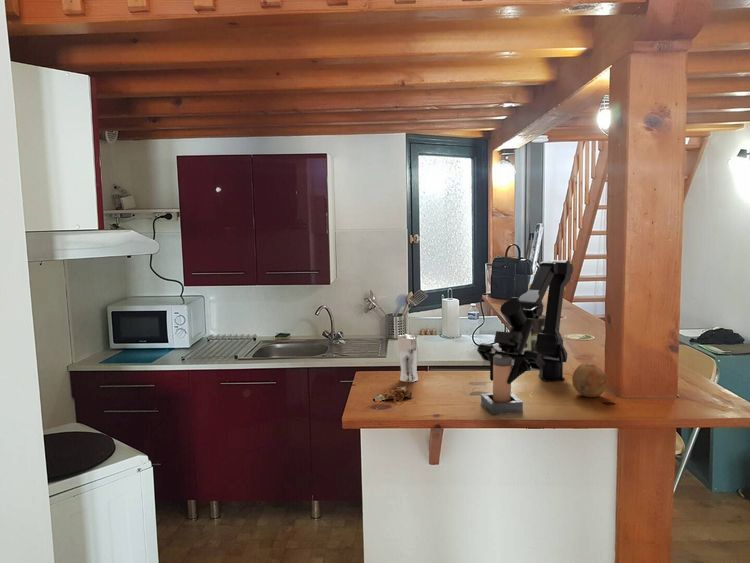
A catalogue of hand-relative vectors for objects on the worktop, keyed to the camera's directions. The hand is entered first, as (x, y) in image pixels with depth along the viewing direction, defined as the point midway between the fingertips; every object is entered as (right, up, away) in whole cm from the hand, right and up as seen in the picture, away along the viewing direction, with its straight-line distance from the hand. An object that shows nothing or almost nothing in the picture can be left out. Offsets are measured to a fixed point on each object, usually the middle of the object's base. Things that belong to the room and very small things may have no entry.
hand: (499, 381), depth 156 cm
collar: (+1, -8, +2) cm, 8 cm away
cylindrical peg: (+1, -8, +2) cm, 8 cm away
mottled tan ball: (+29, -6, +9) cm, 31 cm away
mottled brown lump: (-30, -8, +14) cm, 34 cm away
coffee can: (+27, 0, +62) cm, 67 cm away
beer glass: (-24, -5, +32) cm, 40 cm away
